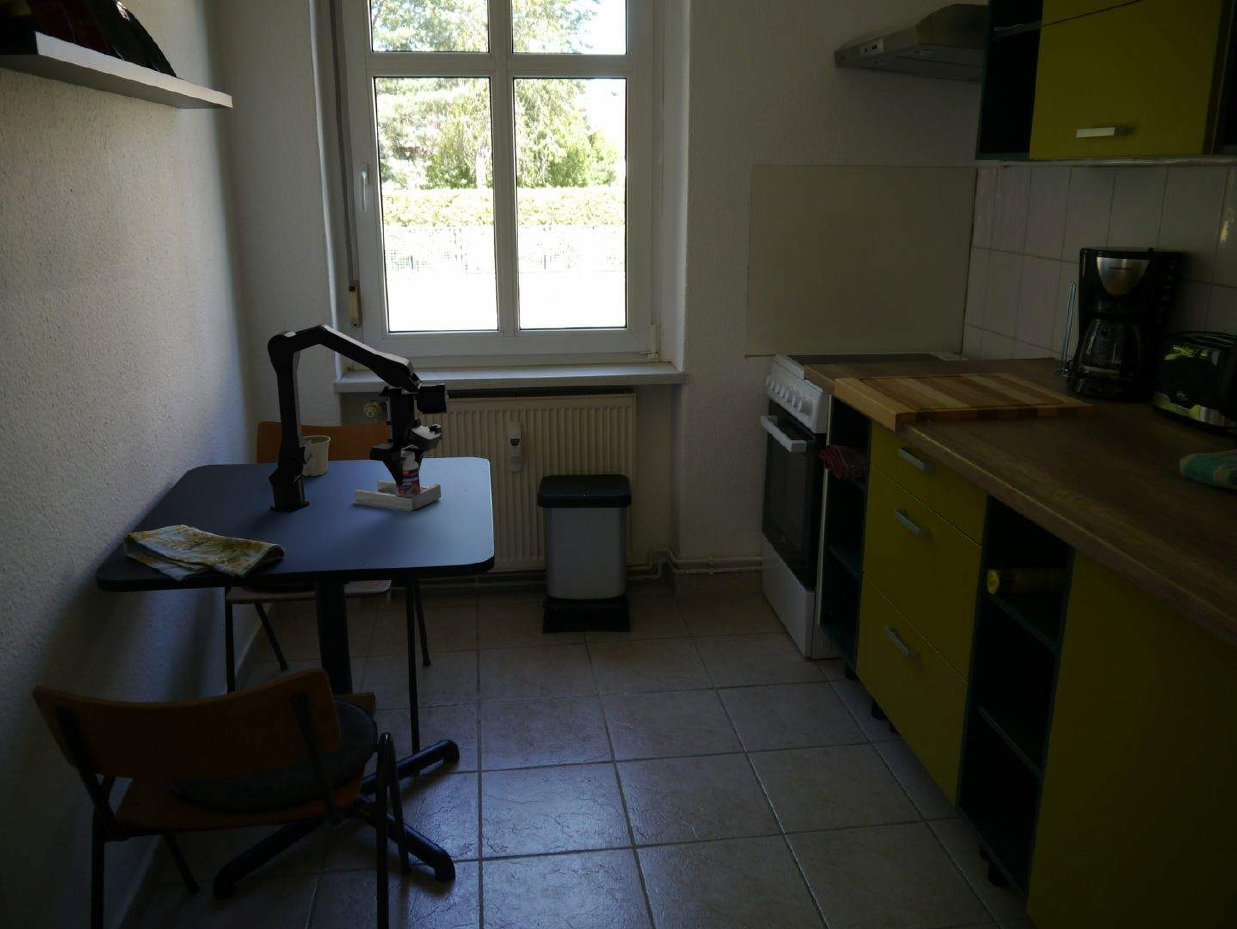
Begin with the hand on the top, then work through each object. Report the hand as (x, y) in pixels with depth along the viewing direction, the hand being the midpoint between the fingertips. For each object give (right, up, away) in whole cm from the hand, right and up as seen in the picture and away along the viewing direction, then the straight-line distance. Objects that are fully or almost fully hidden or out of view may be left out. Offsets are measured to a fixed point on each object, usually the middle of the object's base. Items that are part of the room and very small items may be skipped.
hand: (407, 481), depth 235 cm
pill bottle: (0, -3, +1) cm, 3 cm away
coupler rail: (-3, -4, +3) cm, 6 cm away
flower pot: (-29, +2, +27) cm, 40 cm away
